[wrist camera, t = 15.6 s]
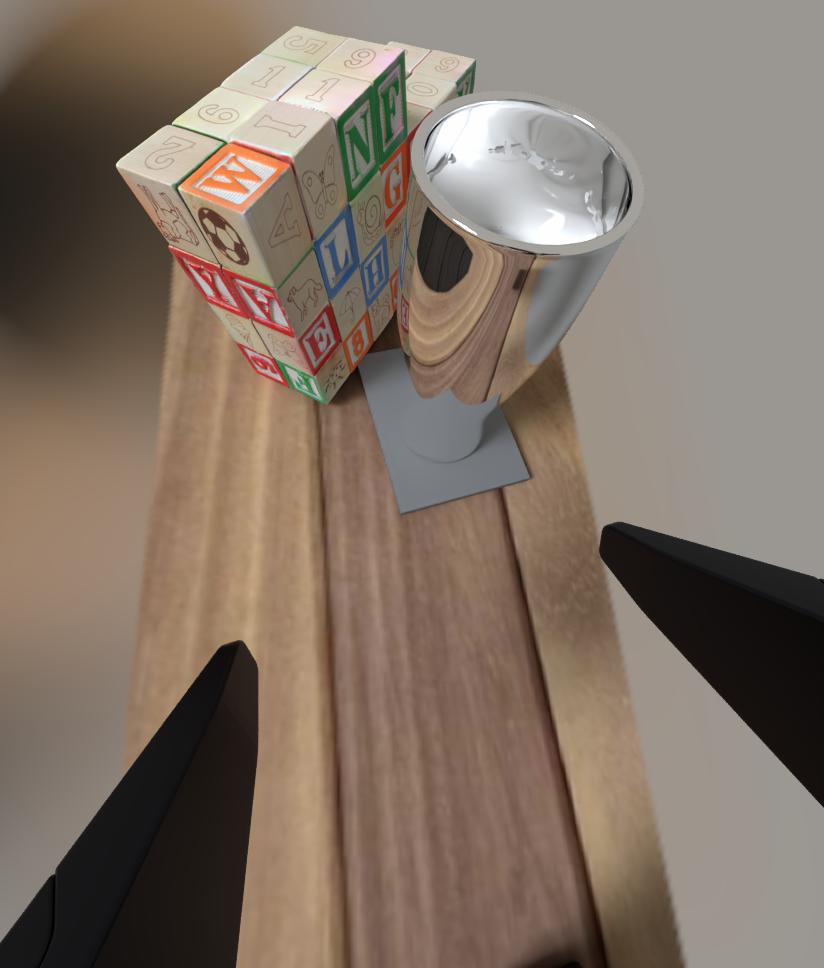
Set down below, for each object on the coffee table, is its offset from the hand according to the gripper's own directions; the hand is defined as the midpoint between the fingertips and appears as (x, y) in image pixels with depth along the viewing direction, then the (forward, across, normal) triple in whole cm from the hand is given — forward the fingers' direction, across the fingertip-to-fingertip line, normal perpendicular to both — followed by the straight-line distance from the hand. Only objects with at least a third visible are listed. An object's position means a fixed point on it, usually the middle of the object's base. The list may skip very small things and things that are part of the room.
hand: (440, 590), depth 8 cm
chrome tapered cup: (+16, -6, +2) cm, 17 cm away
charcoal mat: (+17, -6, +2) cm, 18 cm away
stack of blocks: (+25, -4, -7) cm, 26 cm away
